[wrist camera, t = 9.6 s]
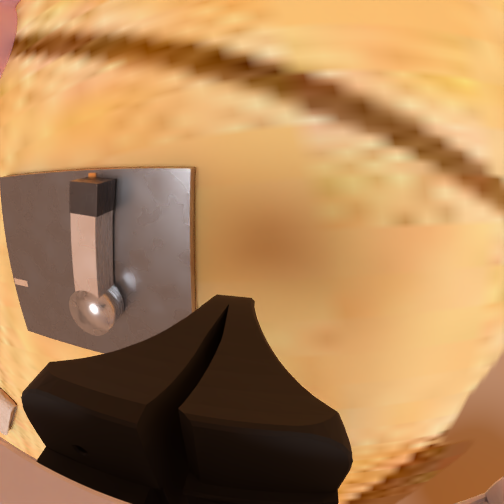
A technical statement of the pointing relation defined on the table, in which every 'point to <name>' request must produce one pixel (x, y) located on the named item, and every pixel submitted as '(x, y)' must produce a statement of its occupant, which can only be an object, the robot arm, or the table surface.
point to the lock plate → (124, 251)
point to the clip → (7, 30)
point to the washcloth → (6, 412)
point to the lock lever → (93, 255)
